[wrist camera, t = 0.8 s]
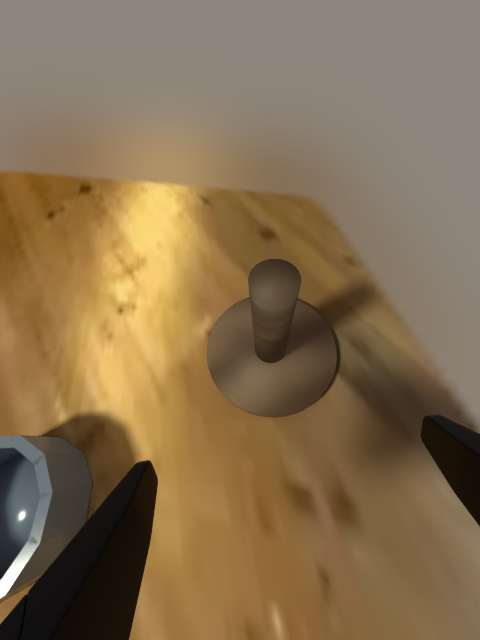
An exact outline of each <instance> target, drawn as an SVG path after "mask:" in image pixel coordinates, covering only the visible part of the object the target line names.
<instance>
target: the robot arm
mask: <svg viewBox="0 0 480 640" xmlns="http://www.w3.org/2000/svg"><path fill="white" fill-rule="evenodd" d="M421 439H422V441H423V443H424V445H425V447H426V448H427V450H428V451H429V453H430V455H431V456H432V458H433V459H434V461H435V463H436V464H437V466H438V467H439V469H440V470H441V472H442V474H443V475H444V477H445V478H446V480H447V482H448V483H449V485H450V486H451V488H452V489H453V491H454V492H455V494H456V495H457V496H458V498H459V499H460V501H461V502H462V503H463V505H464V506H465V507H466V509H467V510H468V511H469V513H470V514H471V515H472V517H473V518H474V519H475V521H476V522H477V523H478V525H479V526H480V434H478V433H476V432H474V431H472V430H470V429H468V428H466V427H464V426H462V425H460V424H457V423H455V422H453V421H451V420H449V419H447V418H445V417H443V416H441V415H429V416H425V417H424V418H423V423H422V429H421ZM157 486H158V479H157V475H156V473H155V470H154V468H153V465H152V463H151V461H149V460H146V461H140V462H137V463H136V464H135V465H134V466H133V467H132V468H131V470H130V471H129V472H128V473H127V474H126V476H125V477H124V478H123V479H122V480H121V482H120V483H119V484H118V485H117V486H116V488H115V489H114V490H113V491H112V492H111V493H110V495H109V496H108V497H107V498H106V499H105V501H104V502H103V503H102V504H101V505H100V507H99V508H98V509H97V510H96V511H95V513H94V514H93V515H92V516H91V517H90V518H89V520H88V521H87V522H86V523H85V524H84V526H83V527H82V528H81V529H80V530H79V532H78V533H77V534H76V535H75V536H74V538H73V539H72V540H71V541H70V542H69V543H68V545H67V546H66V547H65V548H64V549H63V551H62V552H61V553H60V554H59V555H58V557H57V558H56V559H55V560H54V561H53V563H52V564H51V565H50V566H49V567H48V568H47V570H46V571H45V572H44V573H43V574H42V576H41V577H40V578H39V579H38V580H37V582H36V583H35V584H34V585H33V586H32V588H31V589H30V590H29V591H28V595H25V596H24V597H23V598H22V599H21V600H20V602H19V603H18V604H17V605H16V606H15V608H14V609H13V610H12V611H11V612H10V614H9V615H8V616H7V617H6V618H5V619H4V621H3V622H2V623H1V624H0V640H129V637H130V632H131V628H132V623H133V618H134V614H135V609H136V605H137V600H138V596H139V591H140V587H141V582H142V577H143V573H144V568H145V564H146V559H147V555H148V550H149V545H150V540H151V533H152V526H153V518H154V510H155V502H156V494H157Z"/></svg>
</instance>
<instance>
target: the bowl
mask: <svg viewBox="0 0 480 640" xmlns="http://www.w3.org/2000/svg"><path fill="white" fill-rule="evenodd" d="M92 485H93V483H92V479H91V476H90V472H89V469H88V465H87V462H86V458H85V455H84V453H83V452H82V451H81V450H79V449H78V448H77V447H75V446H74V445H72V444H71V443H70V442H68V441H67V440H66V439H64V438H63V437H43V436H24V435H19V436H0V603H1V602H3V601H5V600H6V599H8V598H10V597H12V596H13V595H15V594H17V593H18V592H20V591H22V590H23V589H25V588H26V587H28V586H29V585H31V584H32V583H34V582H35V581H36V580H38V579H39V578H40V577H41V576H42V574H43V573H44V572H45V571H46V570H47V568H48V567H49V566H50V565H51V564H52V563H53V561H54V560H55V559H56V558H57V557H58V555H59V554H60V553H61V552H62V551H63V549H64V548H65V547H66V546H67V545H68V543H69V542H70V541H71V540H72V539H73V538H74V536H75V535H76V534H77V533H78V532H79V530H80V529H81V528H82V527H83V526H84V524H85V522H86V516H87V511H88V506H89V501H90V495H91V490H92Z"/></svg>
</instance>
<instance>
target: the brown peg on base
mask: <svg viewBox="0 0 480 640" xmlns="http://www.w3.org/2000/svg"><path fill="white" fill-rule="evenodd" d="M248 283H249V294H250V297H249V298H246V299H244V300H241V301H240V302H238V303H236V304H234V305H233V306H231V307H230V308H229V309H228V310H226V311H225V312H224V313H223V314H222V316H221V317H220V318H219V319H218V321H217V322H216V324H215V325H214V327H213V329H212V331H211V334H210V337H209V341H208V347H207V361H208V367H209V370H210V373H211V376H212V378H213V380H214V382H215V384H216V386H217V387H218V389H219V390H220V391H221V393H222V394H223V395H224V396H225V397H226V398H227V399H228V400H229V401H230V402H231V403H233V404H234V405H235V406H237V407H239V408H240V409H242V410H244V411H246V412H249V413H251V414H255V415H258V416H264V417H282V416H288V415H292V414H295V413H298V412H300V411H302V410H304V409H306V408H307V407H309V406H311V405H312V404H313V403H314V402H315V401H317V400H318V399H319V398H320V397H321V396H322V395H323V393H324V392H325V391H326V389H327V388H328V386H329V385H330V383H331V381H332V378H333V376H334V373H335V369H336V362H337V351H336V344H335V341H334V337H333V335H332V332H331V330H330V328H329V327H328V325H327V323H326V322H325V321H324V319H323V318H322V317H321V316H320V315H319V314H318V313H317V312H316V311H315V310H314V309H313V308H311V307H310V306H309V305H307V304H305V303H303V302H302V301H299V300H297V298H298V294H299V289H300V285H301V276H300V273H299V271H298V270H297V268H296V267H295V266H294V265H292V264H291V263H289V262H287V261H285V260H281V259H269V260H265V261H262V262H260V263H259V264H257V265H256V266H255V267H254V268H253V269H252V270H251V272H250V274H249V278H248Z"/></svg>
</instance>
